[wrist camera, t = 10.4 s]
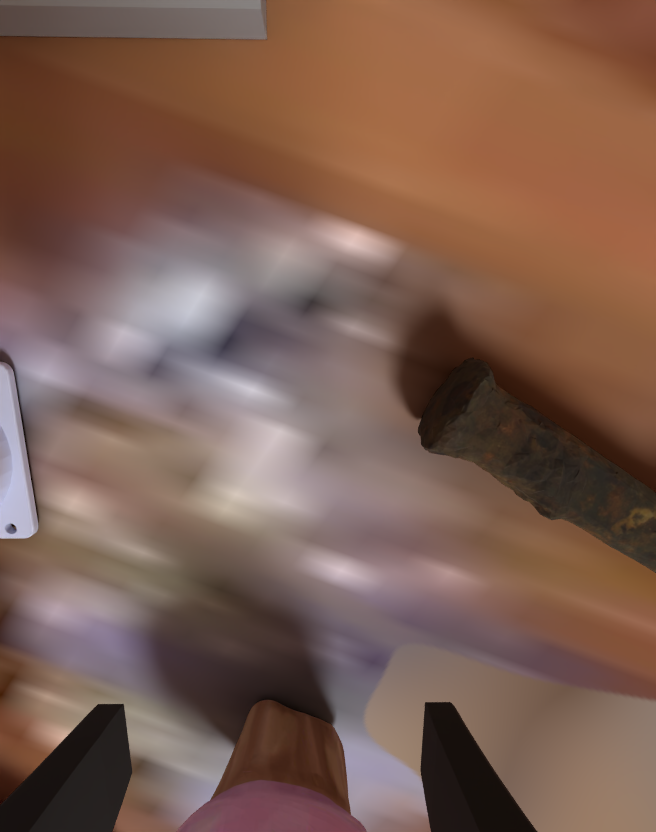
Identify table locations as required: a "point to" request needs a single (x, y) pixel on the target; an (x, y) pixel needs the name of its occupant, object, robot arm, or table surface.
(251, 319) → the table surface
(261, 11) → the cradle
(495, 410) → the dark brown rough bar
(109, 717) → the robot arm
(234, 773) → the cupcake
